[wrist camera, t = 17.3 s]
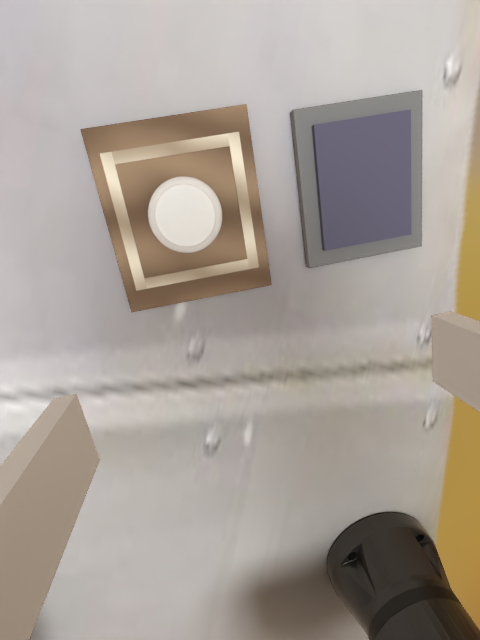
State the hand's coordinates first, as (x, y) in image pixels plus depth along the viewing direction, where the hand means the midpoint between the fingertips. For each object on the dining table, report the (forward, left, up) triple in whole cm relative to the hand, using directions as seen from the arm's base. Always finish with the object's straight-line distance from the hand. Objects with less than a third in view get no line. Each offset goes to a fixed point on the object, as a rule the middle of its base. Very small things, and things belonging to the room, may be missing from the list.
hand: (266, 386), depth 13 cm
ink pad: (+6, -15, -23) cm, 28 cm away
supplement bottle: (+6, +2, -22) cm, 23 cm away
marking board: (+6, +2, -23) cm, 24 cm away
